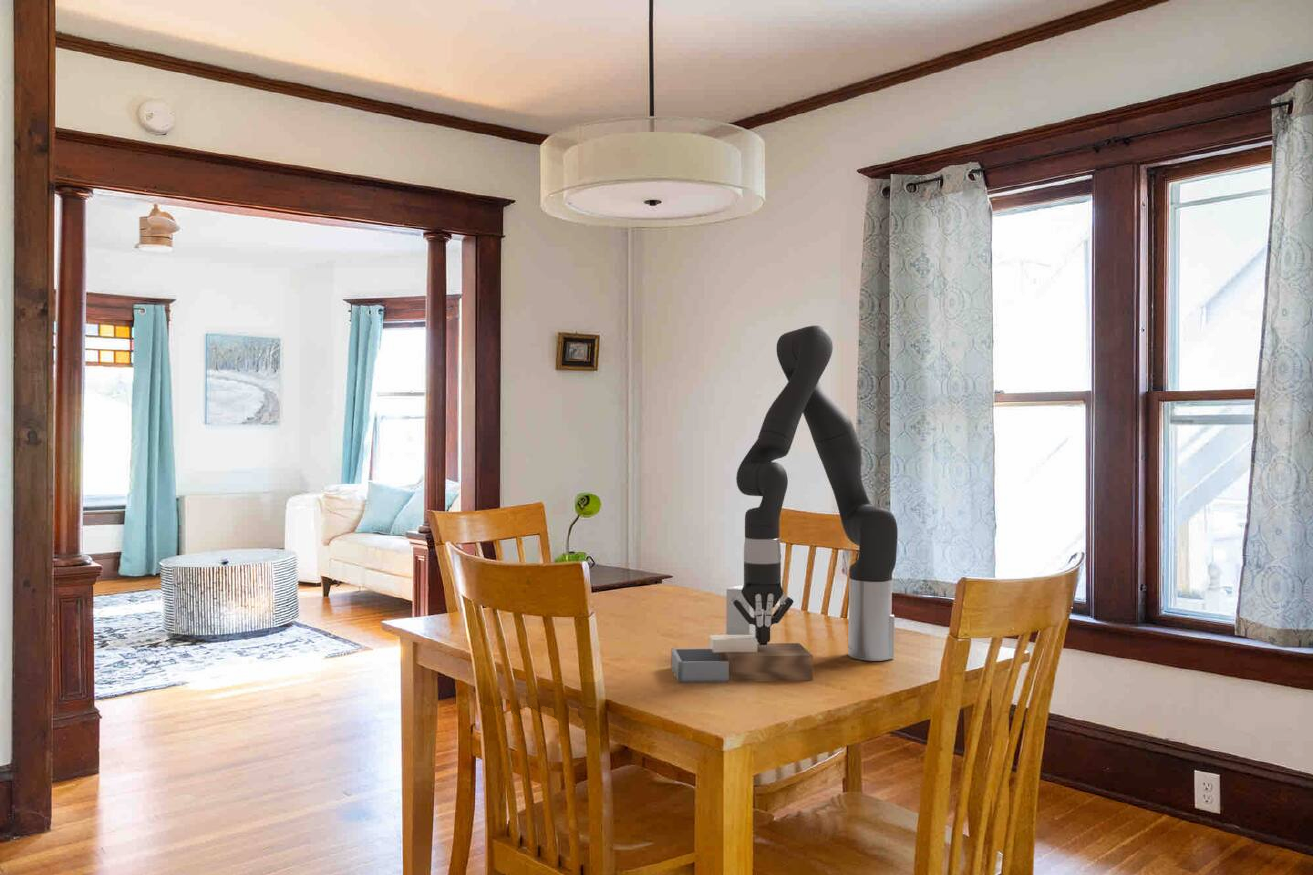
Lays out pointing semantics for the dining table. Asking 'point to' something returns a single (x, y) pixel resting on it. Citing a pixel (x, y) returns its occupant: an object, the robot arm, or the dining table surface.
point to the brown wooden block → (770, 663)
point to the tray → (698, 666)
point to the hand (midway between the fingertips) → (762, 644)
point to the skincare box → (738, 615)
